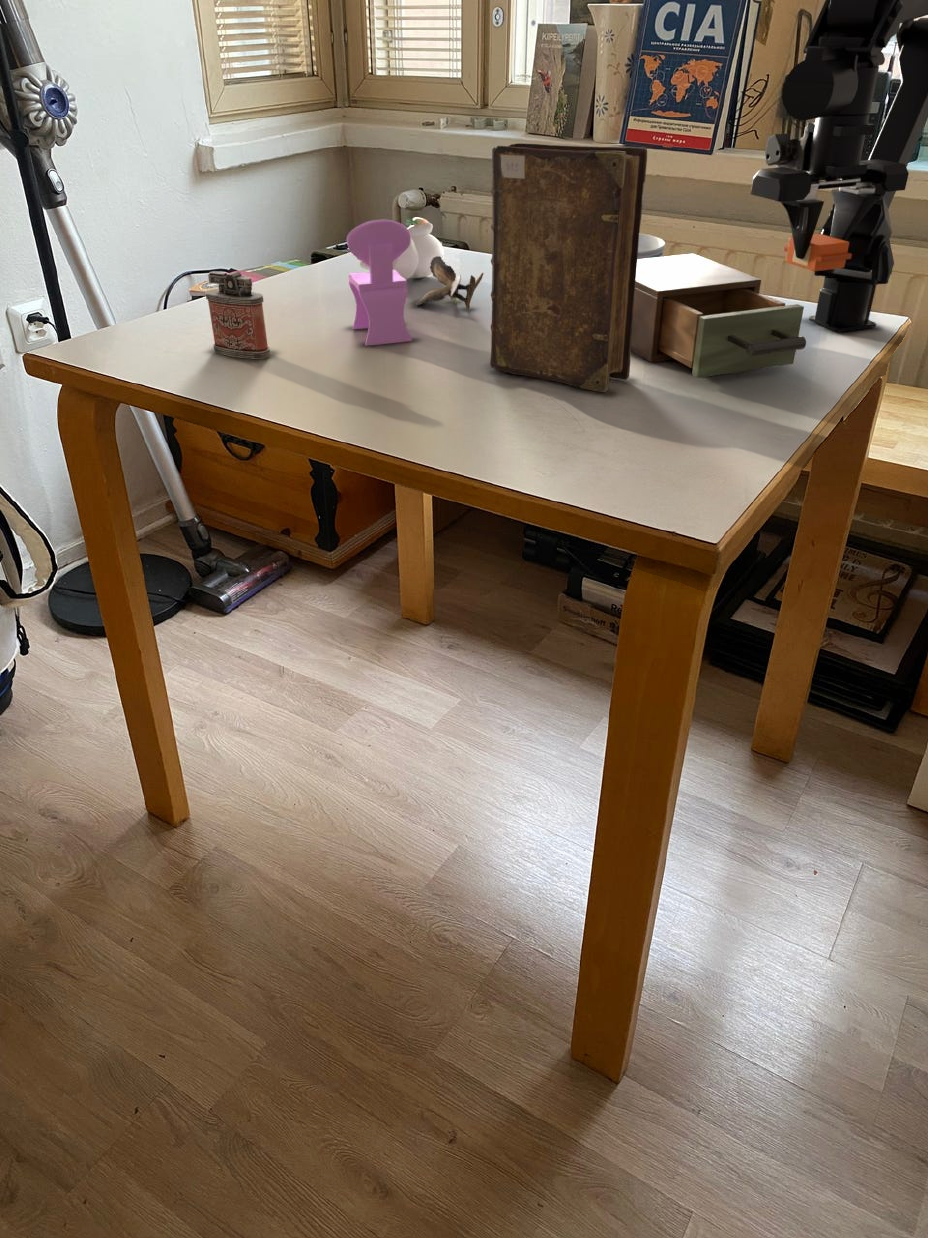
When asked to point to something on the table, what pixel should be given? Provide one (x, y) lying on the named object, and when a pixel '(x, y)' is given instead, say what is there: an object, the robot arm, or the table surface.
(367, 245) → the toy chair
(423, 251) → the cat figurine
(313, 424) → the table surface
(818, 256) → the orange box
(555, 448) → the table surface
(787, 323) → the drawer
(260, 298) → the lighter
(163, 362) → the table surface
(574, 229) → the book
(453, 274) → the eagle figurine
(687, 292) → the cabinet
